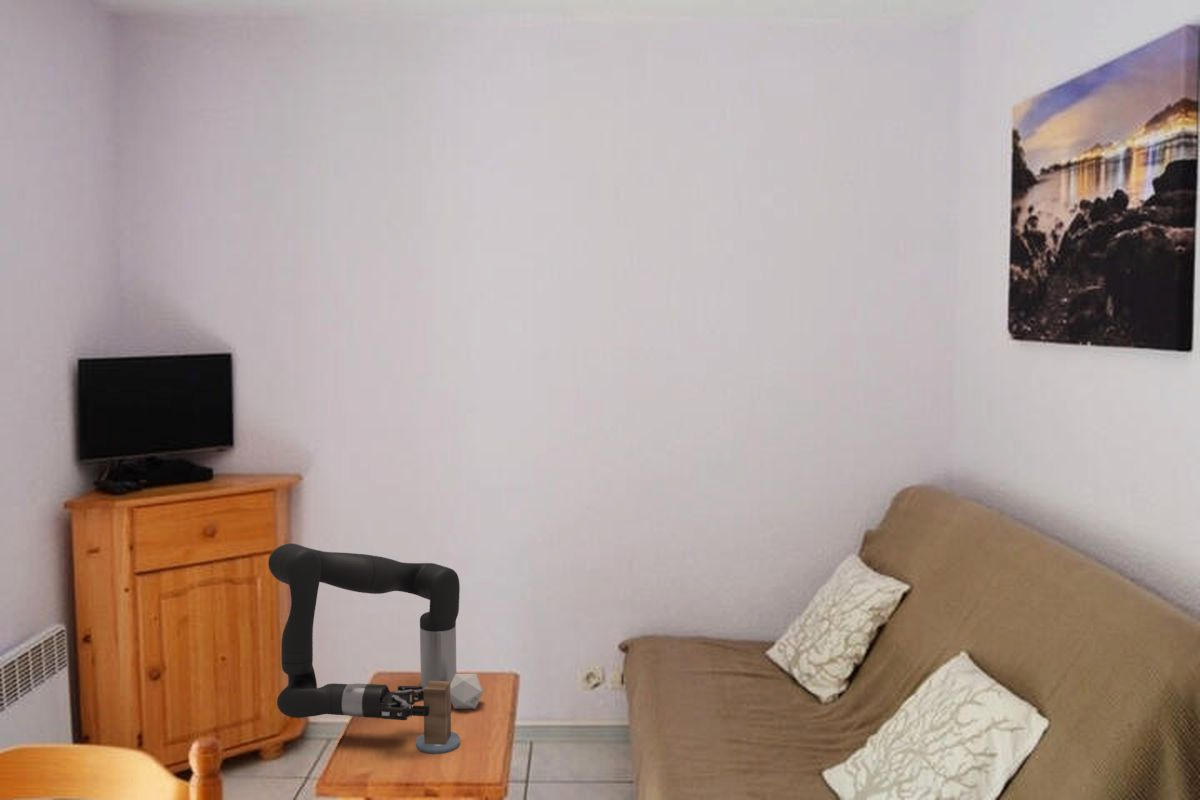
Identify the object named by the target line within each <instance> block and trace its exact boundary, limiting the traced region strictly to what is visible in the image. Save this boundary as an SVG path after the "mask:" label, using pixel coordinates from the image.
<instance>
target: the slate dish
mask: <svg viewBox="0 0 1200 800" xmlns="http://www.w3.org/2000/svg"><path fill="white" fill-rule="evenodd" d="M415 744H416V749H417V750H418V751H420V752H422V753H425V754H434V755H437V754H445V753H449V752H452V751H455V750H456V749H458V748H459V746H460V745H461V738H460V735H459V734H458V733H456V732H453V731H451V736H450V738H449V740H448V741H447V743H446V744H425V743H424V732H423V733H421V734H419V736H417V738H416V740H415Z"/></svg>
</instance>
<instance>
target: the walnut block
mask: <svg viewBox="0 0 1200 800" xmlns="http://www.w3.org/2000/svg"><path fill="white" fill-rule="evenodd" d="M451 704H452V702H451V700H450V682H447V681H429V682H428V683H427V685H426V686H425V687H424V701H423V706H429V715H428V716H423V729H424V730H423V733H424V743H425V744H446V743H447V741H448V740H449V738H450V736H451V732H452V725H451V724H452V722H451V719H452V717H451V714H452V713H451V711H452V710H451V707H452V706H451Z"/></svg>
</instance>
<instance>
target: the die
mask: <svg viewBox="0 0 1200 800" xmlns="http://www.w3.org/2000/svg"><path fill="white" fill-rule="evenodd" d="M483 693H484V689H483V687H482V684H481V682H480V679H479V677H478V674H477V673H456V674H455V676H454V678H453V680H452V682H451V684H450V700H451V704H452V706H453V708H454V710H476V709H477V707H478V704H479V702H480V700H481V697H482V696H483Z"/></svg>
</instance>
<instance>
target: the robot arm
mask: <svg viewBox="0 0 1200 800" xmlns="http://www.w3.org/2000/svg"><path fill="white" fill-rule="evenodd" d="M267 563H268V569H269V572H270V573H271V575H272V576H273V577H274V578H275V579H276V580H277V581H279V582H281V583H284V584H286V585H288V586H289V592H290V601H291V602H290V605H291V606H290V609H289V610H290V611H289V614H288V618H287V621H286V623H285V625H284V627H283V632H282V634H281V635H282V636H281V645H280V647H281V656H280V657H281V669H282V671H283V673H284V674H286V675H287V680H288V683H287V686H286V687H285V688H284V689H283V690H282V691H281V692H280V693H279V695H278V696H277V698H276V699H277V701H276V705H277V708H278V710H279V711H280V712H281V713H282V714H283V715H285V716H286V717H289V718H296V719H298V718H309V717H317V716H323V715H333V716H348V717H353V718H367V719H369V718H370V719H371V718H372V719H383V720H395V721H396V720H397V721H407V720H408V718H412V717H424V716H428V715H429V706H424V705H420V704H419V705H418V704H417V705H416V703H419V702H424V687H425V686H426V685H427V683H428V682H429V681H447V682H450V684H451V682H452V680H453V678H454V676H455V674H457V632H456V631H457V630H456V629H457V628H456V627H457V626H456V625H457V624H456V623H457V618H458V615H459V610H460V590H461V589H460V588H461V587H460V578H459V574H457V571H455V570H454V569H452V568H450V567H447V566H444V565H440V564H438V563H434V562H420V563H419V562H401V561H398V560H395V559H392V558H388V557H383V556H378V555H372V554H371V555H370V554H365V553H354V552H352V553H351V552H340V551H339V552H333V551H325V550H324V551H323V550H317V549H314V548H310V547H306V546H303V545H300V544H297V543H285V544H282V545H279V546H278V547H277V548H275V549H274V550H273V551H272V552H271V554H270V556H269V559H268V561H267ZM320 583H323V584H326V585H329V586H332V587H336V588H339V589H343V590H347V591H351V592H356V593H361V594H371V595H373V594H374V595H377V594H378V595H380V594H381V595H382V594H383V595H384V594H386V593H387V594H388V593H391V592H403V593H408V594H410V595H415V596H418V597H421V598H423V599H425V600H429V608H428V609H429V611H427V612H424V613H423V614H422V615H421V616H420V617H419V642H420V643H419V645H420V646H419V647H420V651H419V652H420V658H419V660H420V685H398V686H397V690H396V691H390V689H389V686H388V685H386V684H380V683H379V684H377V683H375V684H374V683H327V684H325V685H323V686H321V687H318V683H317V677H316V673H315V669H314V665H313V661H314V658H313V656H314V654H313V653H314V652H313V651H314V650H313V649H314V648H313V647H314V646H313V645H314V643H313V642H314V639H313V637H314V634H313V633H314V632H313V631H314V622H315V621H314V619H315V613H316V607H317V599H318V598H317V597H318V592H319V587H320Z"/></svg>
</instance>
